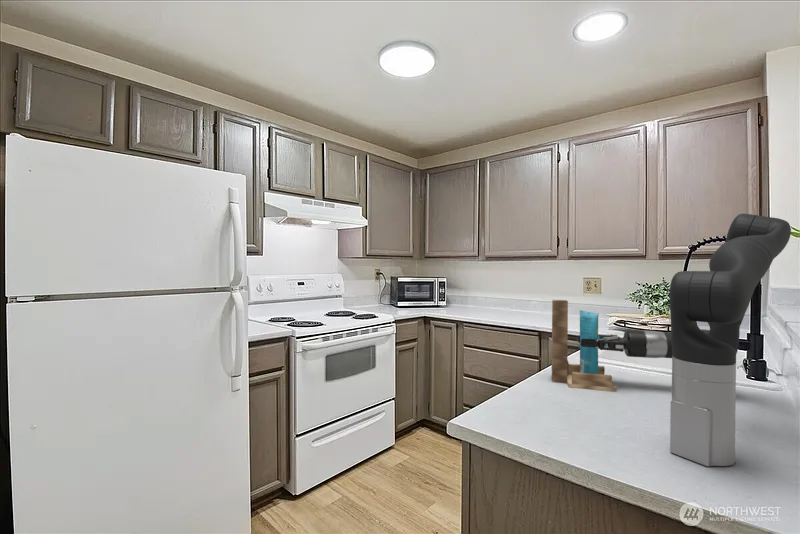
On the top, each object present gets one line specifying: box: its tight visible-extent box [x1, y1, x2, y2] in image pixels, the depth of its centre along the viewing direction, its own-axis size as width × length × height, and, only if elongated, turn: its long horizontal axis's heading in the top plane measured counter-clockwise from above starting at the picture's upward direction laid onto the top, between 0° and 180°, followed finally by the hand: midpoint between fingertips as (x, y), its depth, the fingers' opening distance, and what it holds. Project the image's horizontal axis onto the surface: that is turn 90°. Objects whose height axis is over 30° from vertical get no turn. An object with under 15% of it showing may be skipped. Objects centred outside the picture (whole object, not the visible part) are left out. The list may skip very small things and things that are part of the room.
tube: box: [579, 310, 600, 374], centre depth 117 cm, size 7×5×19 cm, turn 22°
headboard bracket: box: [551, 299, 617, 392], centre depth 117 cm, size 16×12×24 cm
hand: (579, 340), depth 117 cm, fingers closed on tube, 5 cm apart
